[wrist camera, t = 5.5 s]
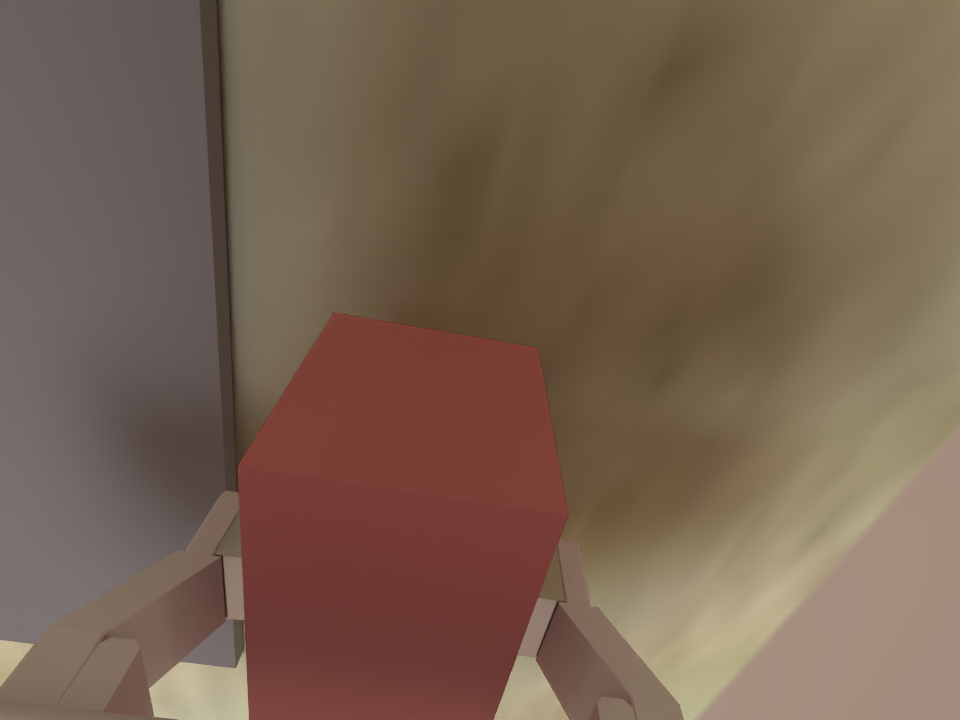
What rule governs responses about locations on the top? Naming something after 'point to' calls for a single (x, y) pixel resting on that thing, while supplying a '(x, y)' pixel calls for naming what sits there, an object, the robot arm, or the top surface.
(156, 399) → the mat
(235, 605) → the robot arm
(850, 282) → the top surface
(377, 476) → the red rectangular block
